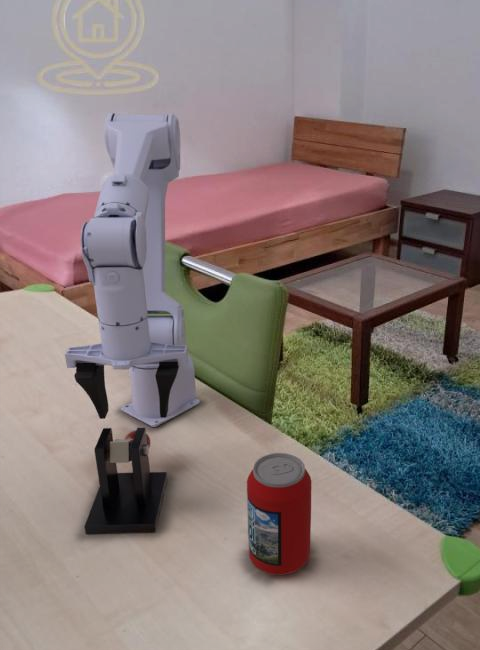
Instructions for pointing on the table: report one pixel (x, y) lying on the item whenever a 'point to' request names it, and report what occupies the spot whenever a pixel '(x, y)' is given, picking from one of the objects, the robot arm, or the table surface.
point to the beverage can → (279, 513)
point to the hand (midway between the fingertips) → (134, 414)
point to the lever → (123, 448)
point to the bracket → (126, 490)
